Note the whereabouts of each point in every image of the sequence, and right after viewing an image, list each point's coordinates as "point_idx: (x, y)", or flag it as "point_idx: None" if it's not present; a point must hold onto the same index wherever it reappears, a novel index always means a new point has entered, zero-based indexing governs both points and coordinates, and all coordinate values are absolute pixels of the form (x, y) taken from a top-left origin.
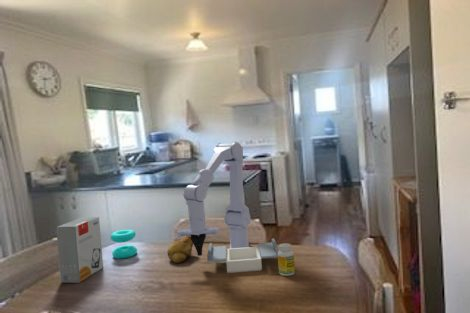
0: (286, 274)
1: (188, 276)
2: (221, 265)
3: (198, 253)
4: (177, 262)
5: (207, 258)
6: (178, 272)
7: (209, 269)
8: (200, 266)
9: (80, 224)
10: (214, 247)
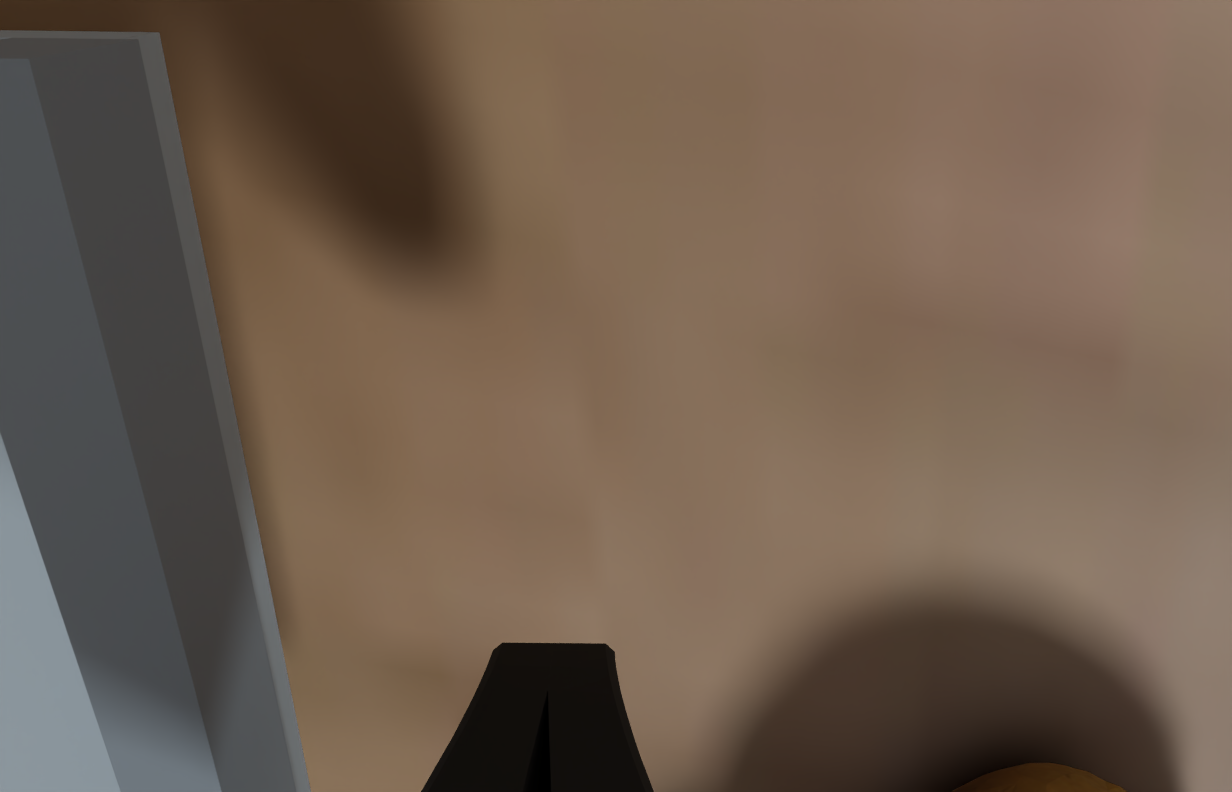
0: None
1: (849, 16)
2: None
3: (581, 684)
4: (1056, 765)
5: (84, 49)
6: (1073, 330)
7: (364, 359)
8: (588, 553)
9: None
10: None
